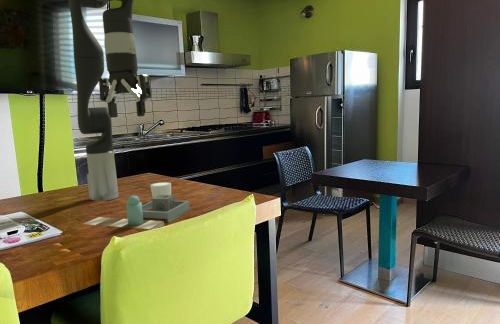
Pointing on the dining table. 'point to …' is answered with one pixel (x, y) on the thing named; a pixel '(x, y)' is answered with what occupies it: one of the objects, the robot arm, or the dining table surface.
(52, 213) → the dining table surface
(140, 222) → the pawn
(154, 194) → the shot glass
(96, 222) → the track
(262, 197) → the dining table surface
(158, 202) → the dice cube
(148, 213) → the tray
